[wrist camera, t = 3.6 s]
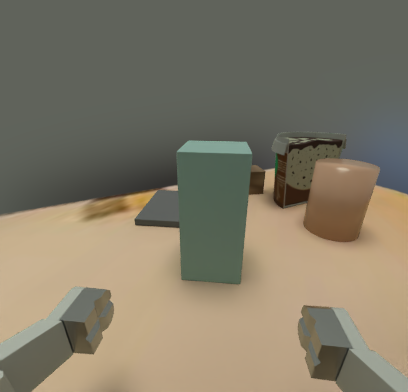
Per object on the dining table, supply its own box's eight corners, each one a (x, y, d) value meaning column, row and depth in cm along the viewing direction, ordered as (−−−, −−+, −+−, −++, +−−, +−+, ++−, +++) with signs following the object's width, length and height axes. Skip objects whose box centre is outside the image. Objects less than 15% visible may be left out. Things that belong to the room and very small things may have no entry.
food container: (303, 185, 41) (313, 130, 38) (333, 196, 36) (348, 134, 33) (249, 195, 37) (255, 133, 33) (275, 210, 31) (285, 139, 28)
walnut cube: (254, 186, 41) (256, 165, 40) (262, 194, 37) (265, 171, 36) (233, 187, 40) (234, 166, 39) (240, 195, 37) (241, 172, 35)
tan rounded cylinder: (343, 217, 30) (359, 159, 27) (369, 243, 24) (394, 173, 21) (297, 215, 30) (308, 157, 27) (313, 240, 25) (329, 171, 22)
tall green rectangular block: (237, 247, 23) (246, 141, 19) (240, 284, 18) (252, 153, 14) (190, 244, 24) (188, 140, 19) (181, 279, 19) (176, 151, 15)
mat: (218, 197, 36) (218, 192, 35) (215, 229, 26) (215, 223, 26) (158, 194, 37) (158, 190, 36) (135, 224, 27) (134, 219, 27)
